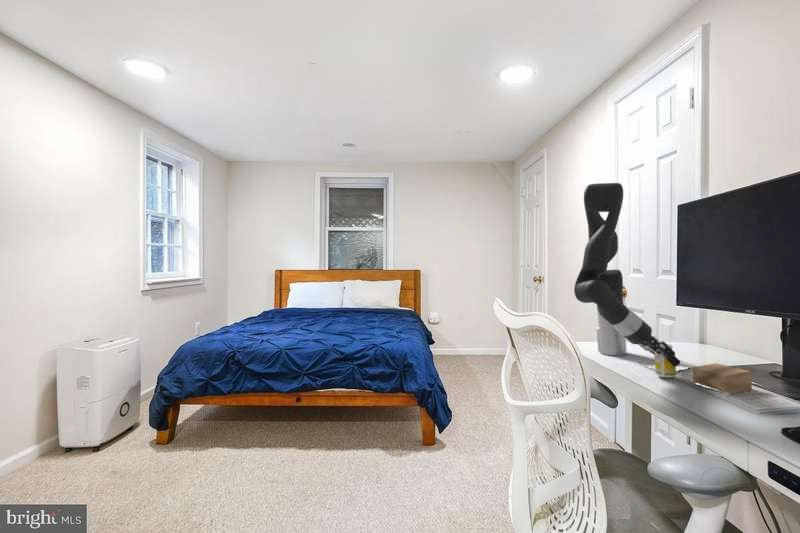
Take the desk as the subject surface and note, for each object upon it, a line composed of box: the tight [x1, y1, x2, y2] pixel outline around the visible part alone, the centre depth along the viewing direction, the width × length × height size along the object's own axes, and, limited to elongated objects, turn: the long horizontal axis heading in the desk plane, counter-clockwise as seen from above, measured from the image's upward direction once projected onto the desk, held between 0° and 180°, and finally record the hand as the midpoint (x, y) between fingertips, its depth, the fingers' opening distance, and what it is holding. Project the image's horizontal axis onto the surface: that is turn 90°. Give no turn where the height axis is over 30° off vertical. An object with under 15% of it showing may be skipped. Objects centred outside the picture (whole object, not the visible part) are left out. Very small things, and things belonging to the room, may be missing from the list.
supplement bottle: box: [653, 343, 677, 378], centre depth 115 cm, size 5×5×10 cm
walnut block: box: [692, 362, 753, 394], centre depth 105 cm, size 9×9×5 cm
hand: (670, 361), depth 115 cm, fingers closed on supplement bottle, 5 cm apart
